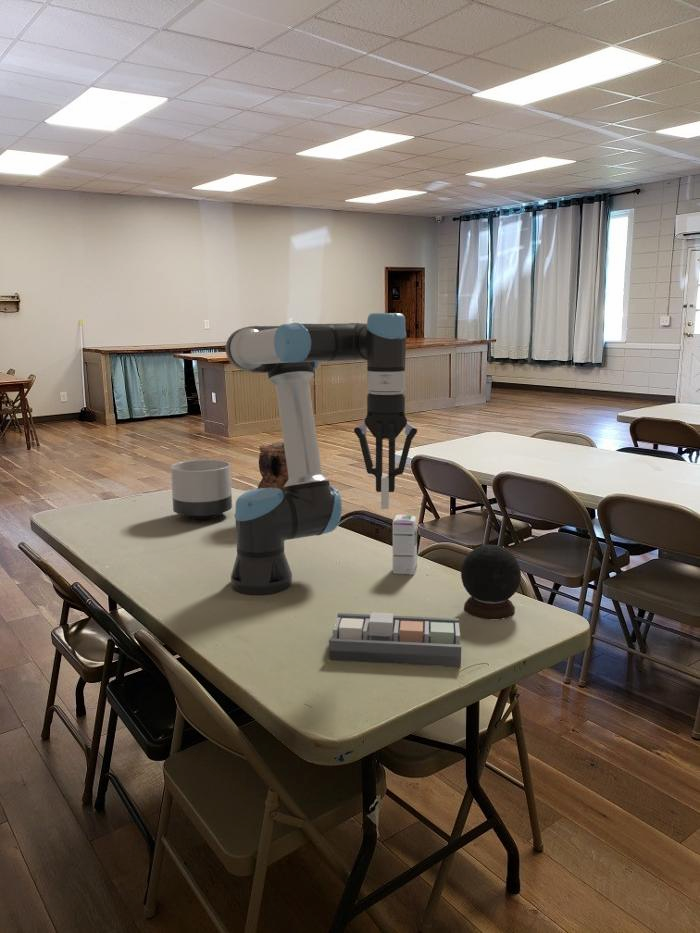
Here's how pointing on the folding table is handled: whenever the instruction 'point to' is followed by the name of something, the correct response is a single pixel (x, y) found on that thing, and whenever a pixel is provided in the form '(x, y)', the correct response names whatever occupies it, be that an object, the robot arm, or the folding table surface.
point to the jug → (273, 466)
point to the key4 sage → (442, 633)
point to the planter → (201, 488)
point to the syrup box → (404, 544)
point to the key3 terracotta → (411, 631)
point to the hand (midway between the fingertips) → (385, 507)
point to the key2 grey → (381, 623)
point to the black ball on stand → (490, 582)
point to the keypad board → (395, 644)
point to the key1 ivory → (351, 628)
